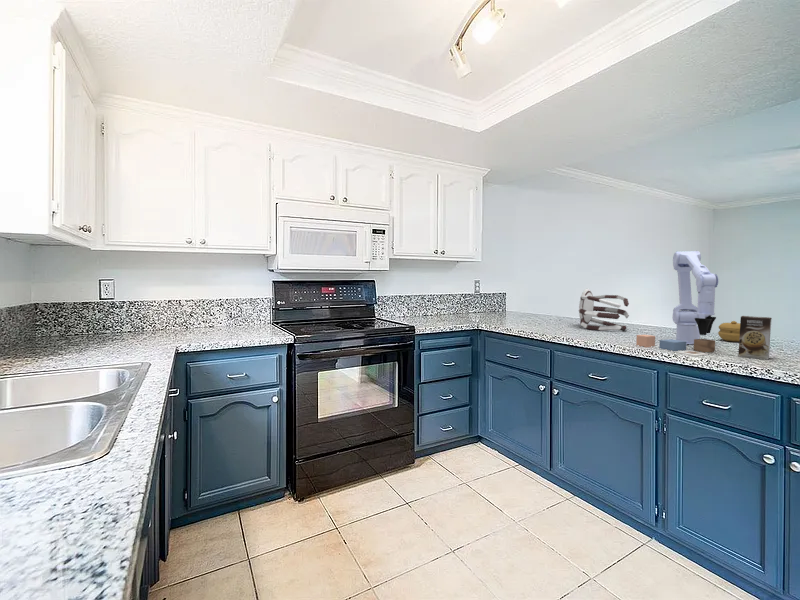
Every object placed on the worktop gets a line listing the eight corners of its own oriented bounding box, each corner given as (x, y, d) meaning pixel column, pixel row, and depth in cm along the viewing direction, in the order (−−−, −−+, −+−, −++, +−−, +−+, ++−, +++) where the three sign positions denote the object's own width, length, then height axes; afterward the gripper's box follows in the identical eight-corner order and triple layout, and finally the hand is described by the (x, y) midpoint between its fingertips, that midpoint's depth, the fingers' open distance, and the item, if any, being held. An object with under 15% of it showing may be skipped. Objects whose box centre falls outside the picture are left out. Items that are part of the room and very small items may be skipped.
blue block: (670, 347, 181) (671, 339, 181) (686, 350, 175) (686, 341, 174) (659, 348, 179) (659, 340, 179) (674, 351, 172) (674, 342, 172)
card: (689, 351, 172) (689, 350, 172) (708, 354, 164) (708, 353, 164) (675, 352, 169) (675, 351, 169) (694, 356, 162) (694, 354, 162)
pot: (735, 343, 189) (736, 322, 189) (711, 339, 201) (712, 320, 200) (755, 342, 192) (756, 322, 191) (730, 338, 203) (731, 319, 203)
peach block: (644, 345, 188) (645, 334, 188) (654, 346, 183) (655, 336, 183) (636, 345, 187) (636, 335, 186) (646, 347, 182) (646, 336, 182)
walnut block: (702, 350, 175) (702, 338, 175) (714, 352, 170) (715, 340, 170) (693, 350, 173) (694, 339, 173) (706, 353, 169) (706, 341, 168)
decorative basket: (597, 323, 266) (641, 334, 233) (562, 325, 259) (602, 337, 226) (599, 287, 263) (644, 293, 230) (564, 288, 256) (605, 294, 223)
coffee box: (737, 356, 160) (739, 316, 159) (739, 354, 165) (741, 315, 164) (768, 359, 154) (770, 318, 153) (769, 357, 158) (771, 316, 158)
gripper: (698, 301, 178) (697, 331, 179) (690, 302, 168) (689, 334, 169) (718, 301, 173) (717, 333, 174) (711, 303, 163) (710, 336, 164)
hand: (704, 334), depth 171 cm, fingers open, 7 cm apart
